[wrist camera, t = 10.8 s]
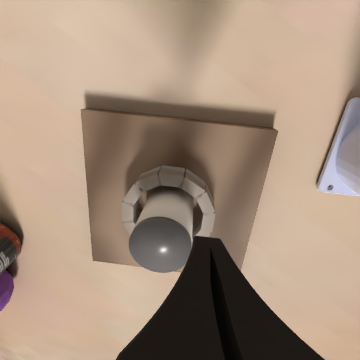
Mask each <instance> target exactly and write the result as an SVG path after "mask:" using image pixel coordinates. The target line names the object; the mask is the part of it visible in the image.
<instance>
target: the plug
mask: <svg viewBox="0 0 360 360" xmlns="http://www.w3.org/2000/svg"><path fill="white" fill-rule="evenodd" d="M193 211H194V204H193V200H192V198H191V196H190V194H189V193H187V192H186V191H184V190H183V189H181V188H180V187H171V186H160V187H158V188H156V189H155V190H153V191H152V193H151V194H150V196H149V198H148V200H147V202H146V204H145V206H144V208H143V210H142V212H141V214H140V217H139V219H138V221H137V223H136V225H135V227H134V229H133V231H132V233H131V236H130V238H129V251H130V253H131V255H132V257H133V258H134V260H135V261H136V262H137V263H138V264H139V265H141V266H142V267H144V268H146V269H148V270H151V271H154V272H161V273H166V272H172V271H175V270H178V269H180V268H181V267H183V266H184V265H185V264H186V262H187V260H188V257H189V255H190V252H191V248H192V229H193Z"/></svg>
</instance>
